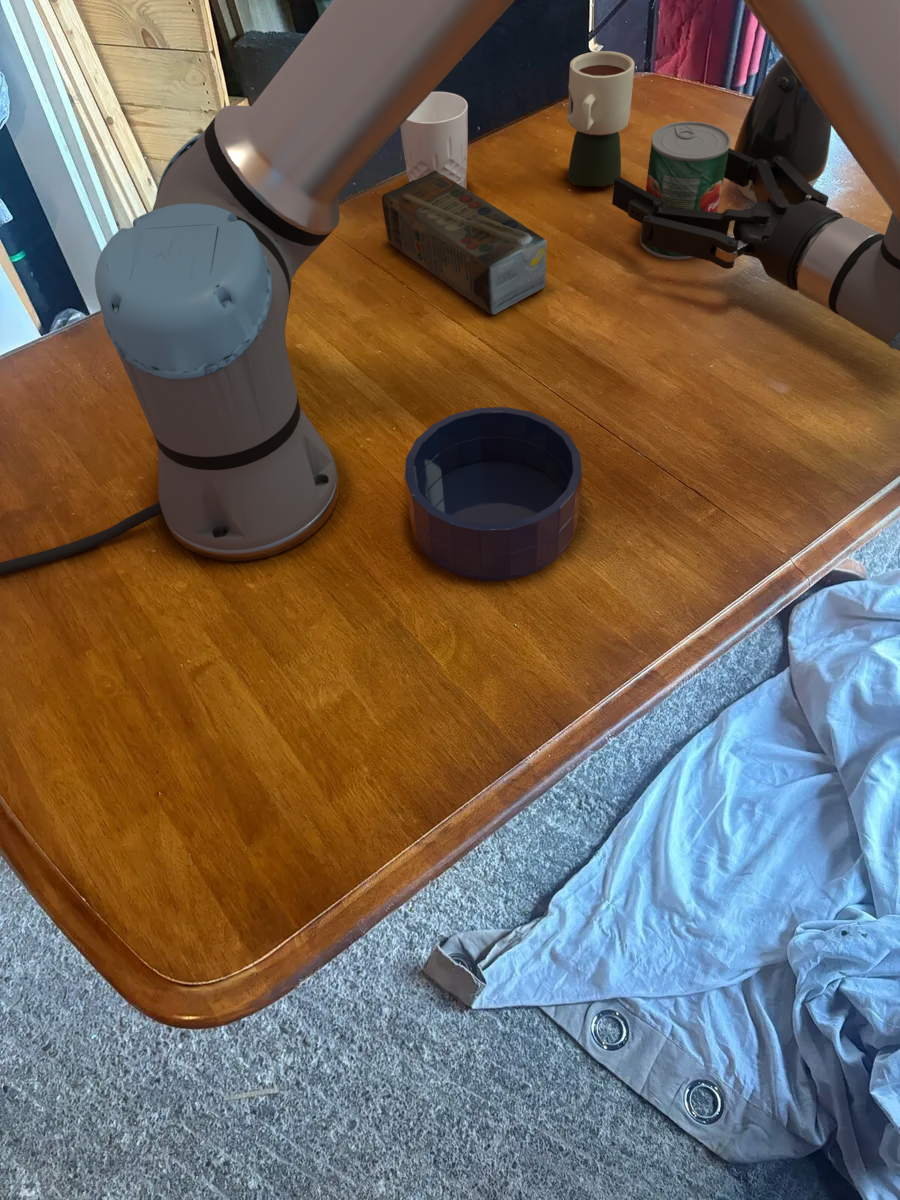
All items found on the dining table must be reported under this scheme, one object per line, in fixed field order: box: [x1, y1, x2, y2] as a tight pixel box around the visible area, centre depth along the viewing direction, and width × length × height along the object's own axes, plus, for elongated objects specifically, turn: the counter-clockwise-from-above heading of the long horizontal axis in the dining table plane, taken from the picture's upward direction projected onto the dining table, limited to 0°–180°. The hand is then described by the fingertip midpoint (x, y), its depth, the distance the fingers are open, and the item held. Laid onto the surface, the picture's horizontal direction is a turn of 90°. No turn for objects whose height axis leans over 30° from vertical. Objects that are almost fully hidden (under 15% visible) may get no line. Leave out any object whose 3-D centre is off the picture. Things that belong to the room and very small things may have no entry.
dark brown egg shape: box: [733, 55, 832, 203], centre depth 97 cm, size 10×10×15 cm
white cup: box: [399, 91, 469, 189], centre depth 104 cm, size 8×8×10 cm
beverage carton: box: [381, 171, 548, 316], centre depth 95 cm, size 8×19×7 cm, turn 37°
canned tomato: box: [639, 121, 732, 261], centre depth 94 cm, size 8×8×11 cm
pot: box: [404, 406, 583, 582], centre depth 72 cm, size 14×14×6 cm
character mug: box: [566, 50, 636, 187], centre depth 103 cm, size 11×7×13 cm, turn 156°
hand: (660, 170), depth 95 cm, fingers open, 12 cm apart
